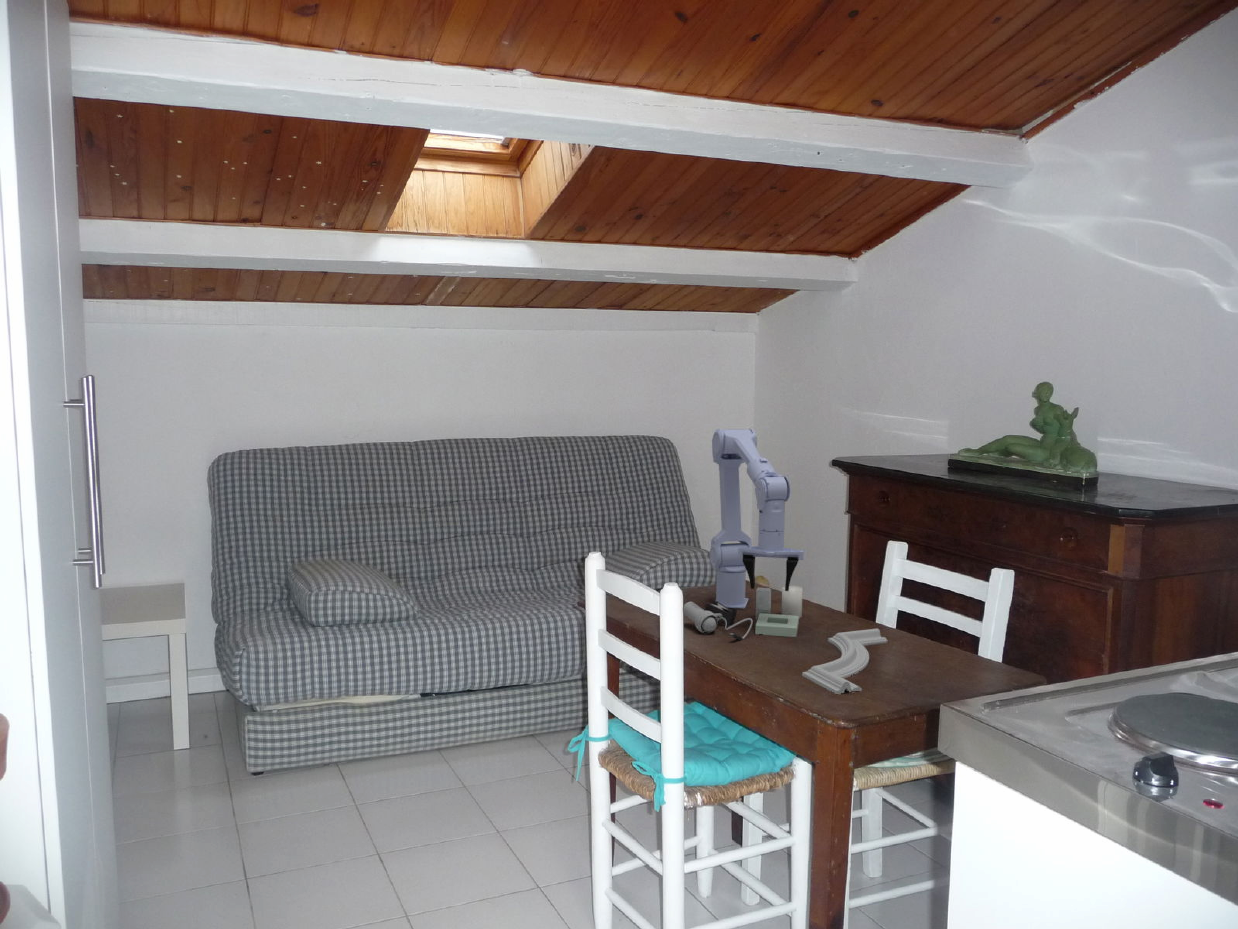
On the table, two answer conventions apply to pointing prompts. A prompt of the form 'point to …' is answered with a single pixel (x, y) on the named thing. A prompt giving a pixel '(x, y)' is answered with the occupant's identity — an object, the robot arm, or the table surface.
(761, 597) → the steel square peg
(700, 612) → the clip-on lamp
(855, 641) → the molding
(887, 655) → the table surface
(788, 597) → the cream round peg
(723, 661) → the table surface
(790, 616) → the socket board
